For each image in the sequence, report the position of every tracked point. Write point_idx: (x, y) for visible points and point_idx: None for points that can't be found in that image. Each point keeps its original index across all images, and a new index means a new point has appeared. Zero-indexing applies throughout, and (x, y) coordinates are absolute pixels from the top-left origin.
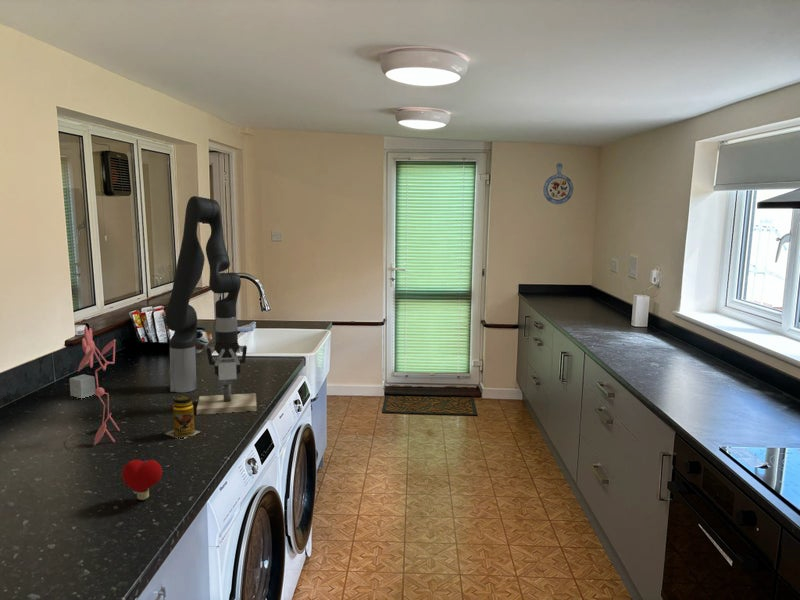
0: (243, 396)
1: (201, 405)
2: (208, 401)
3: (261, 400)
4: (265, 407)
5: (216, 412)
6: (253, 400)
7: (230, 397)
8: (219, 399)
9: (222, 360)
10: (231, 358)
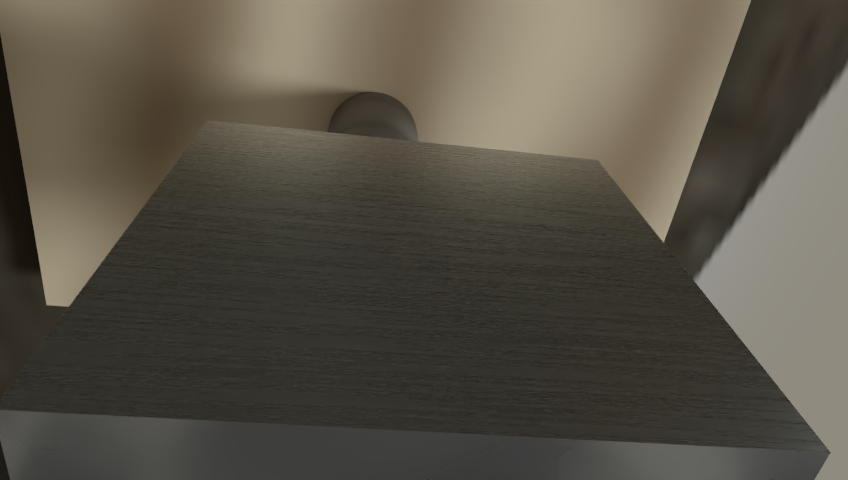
0: (586, 22)
1: (77, 208)
2: (140, 93)
3: (766, 26)
4: (713, 247)
5: None
6: (649, 201)
7: None
8: (277, 51)
9: (206, 444)
10: (625, 440)
